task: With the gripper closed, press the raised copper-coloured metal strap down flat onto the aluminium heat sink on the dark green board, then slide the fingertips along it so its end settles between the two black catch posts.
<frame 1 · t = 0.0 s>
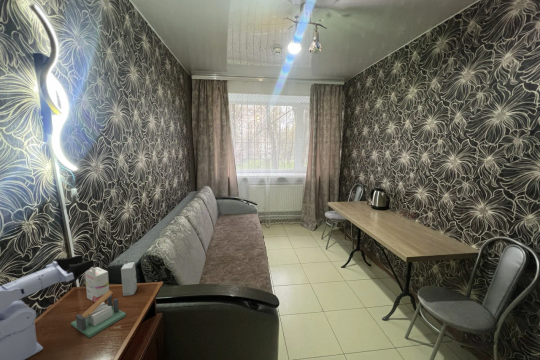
hand: (87, 260, 85), 22 cm above the table, tool horizontal, fingers open, 7 cm apart
board: (99, 320, 85), on the table
strap: (97, 303, 84), point 7 cm above the table, hinge at 25.0°
skincare box: (130, 291, 102), on the table
ink cartridge box: (98, 298, 98), on the table
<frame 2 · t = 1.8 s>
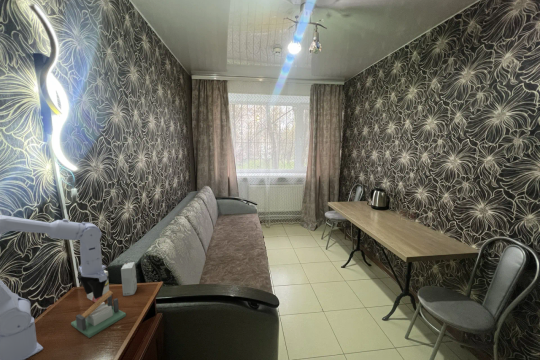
hand: (94, 294, 83), 10 cm above the table, tool pointing down, fingers open, 5 cm apart
nothing on the table moved.
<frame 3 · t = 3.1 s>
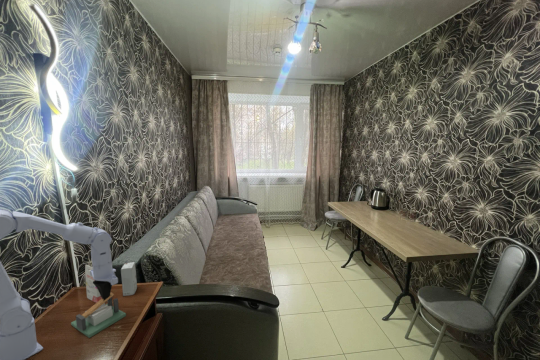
hand: (105, 297, 86), 7 cm above the table, tool pointing down, fingers closed, pressing on strap
strap: (98, 304, 84), point 6 cm above the table, hinge at 19.3°, touching gripper
everything else where it was.
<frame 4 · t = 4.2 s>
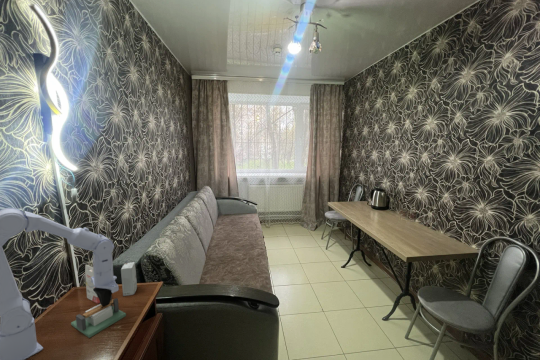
hand: (105, 304, 86), 5 cm above the table, tool pointing down, fingers closed, pressing on strap
strap: (100, 308, 85), point 4 cm above the table, hinge at -0.8°, touching board, gripper
everything else where it was.
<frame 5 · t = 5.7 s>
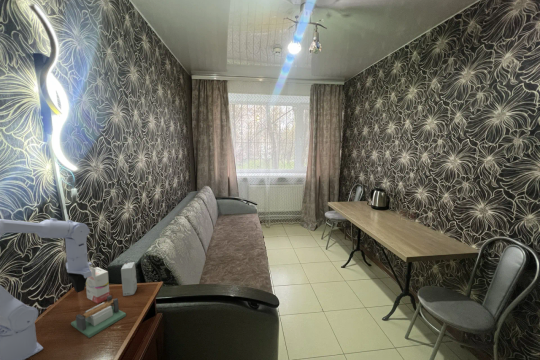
hand: (80, 290, 85), 10 cm above the table, tool pointing down, fingers closed
strap: (100, 308, 85), point 4 cm above the table, hinge at -0.5°
everything else where it was.
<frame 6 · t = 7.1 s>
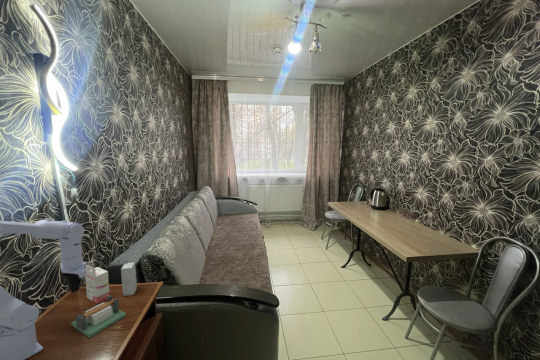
hand: (74, 290, 85), 10 cm above the table, tool pointing down, fingers closed
nothing on the table moved.
at the end: strap at +0° (first picture: +25°) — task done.
